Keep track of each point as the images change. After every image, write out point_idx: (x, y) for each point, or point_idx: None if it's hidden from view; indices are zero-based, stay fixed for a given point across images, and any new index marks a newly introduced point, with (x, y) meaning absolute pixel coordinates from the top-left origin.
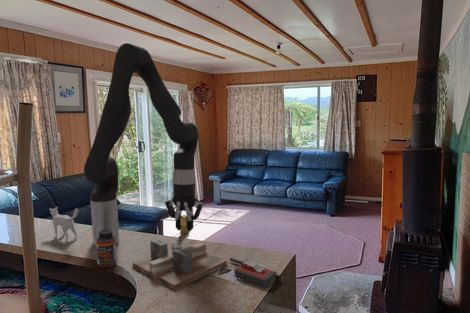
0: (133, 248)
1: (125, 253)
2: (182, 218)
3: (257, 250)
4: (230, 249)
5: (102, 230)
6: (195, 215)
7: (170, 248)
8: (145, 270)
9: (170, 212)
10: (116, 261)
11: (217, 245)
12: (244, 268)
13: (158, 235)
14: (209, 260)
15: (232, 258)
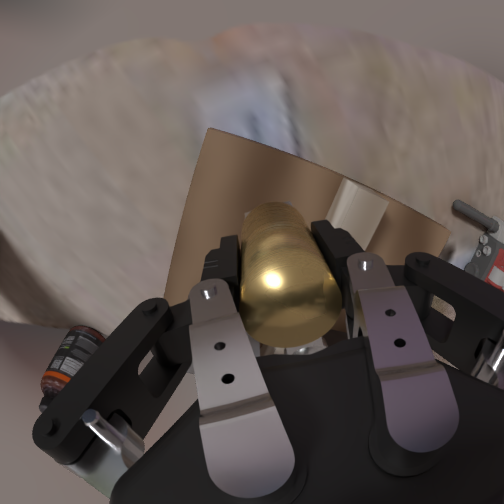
0: (46, 232)
1: (61, 274)
2: (294, 344)
3: (492, 89)
4: (424, 88)
5: (42, 412)
6: (429, 334)
7: (185, 209)
8: None
9: (158, 389)
10: (100, 337)
11: (359, 54)
12: (491, 284)
13: (33, 82)
14: (402, 252)
15: (463, 209)
